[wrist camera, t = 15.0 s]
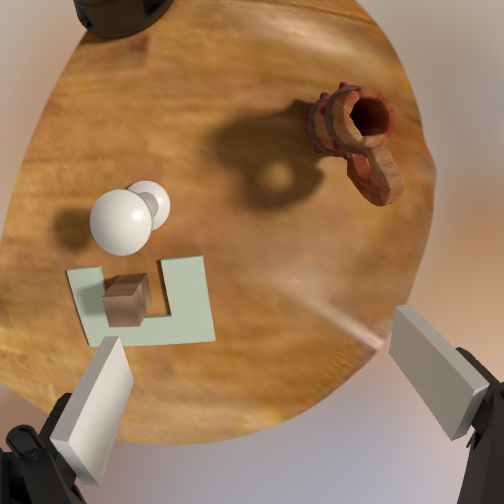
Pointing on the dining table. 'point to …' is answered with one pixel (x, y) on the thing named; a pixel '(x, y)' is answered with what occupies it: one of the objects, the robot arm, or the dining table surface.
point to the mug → (358, 139)
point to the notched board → (156, 326)
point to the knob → (129, 216)
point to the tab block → (127, 300)
